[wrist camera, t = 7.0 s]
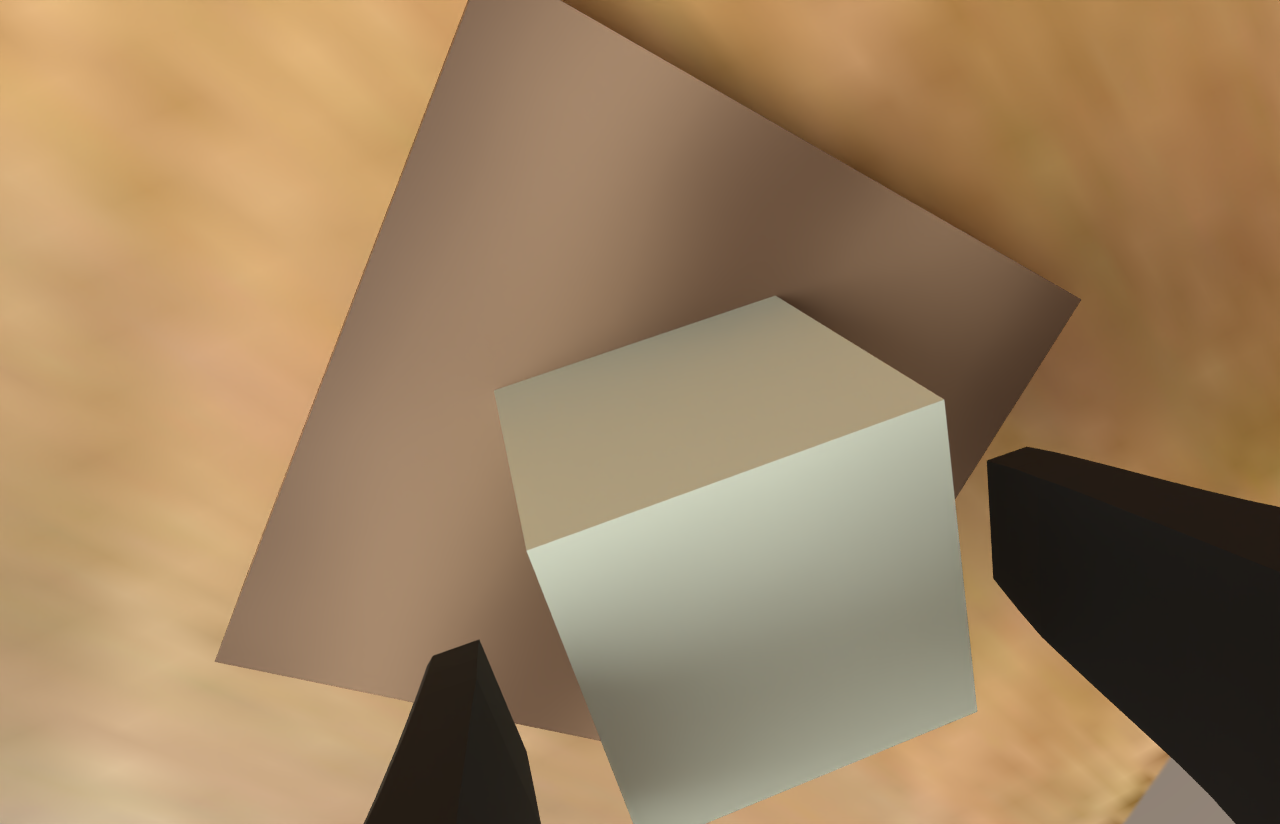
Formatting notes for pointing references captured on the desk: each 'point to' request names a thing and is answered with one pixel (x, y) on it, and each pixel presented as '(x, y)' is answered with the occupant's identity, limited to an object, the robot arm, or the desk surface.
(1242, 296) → the desk surface
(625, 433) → the white block
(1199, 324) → the desk surface
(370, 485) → the walnut box
